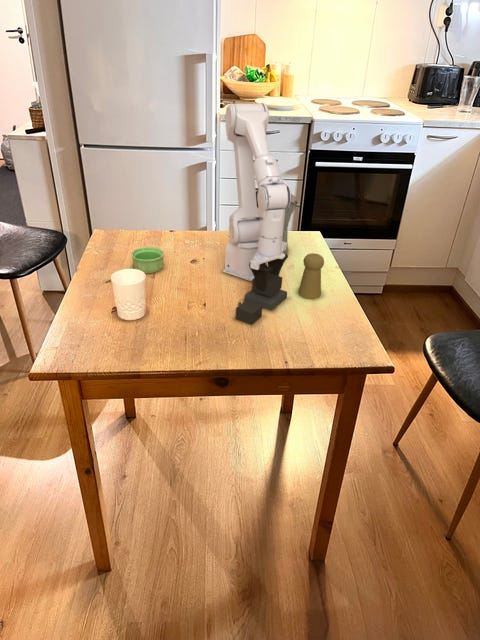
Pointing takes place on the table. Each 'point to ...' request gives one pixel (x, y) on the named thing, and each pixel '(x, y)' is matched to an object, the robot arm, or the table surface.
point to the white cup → (129, 293)
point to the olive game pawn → (311, 277)
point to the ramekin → (148, 259)
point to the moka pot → (286, 216)
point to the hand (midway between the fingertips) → (266, 284)
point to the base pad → (266, 299)
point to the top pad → (248, 312)
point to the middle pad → (269, 285)
